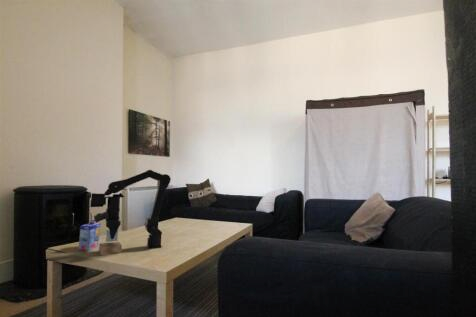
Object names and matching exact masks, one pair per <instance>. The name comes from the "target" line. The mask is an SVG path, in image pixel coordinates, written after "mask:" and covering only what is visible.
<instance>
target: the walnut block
mask: <svg viewBox="0 0 476 317" xmlns="http://www.w3.org/2000/svg"><path fill="white" fill-rule="evenodd" d="M98 247H99V248H98V252H99V255H100V256H107V255H116V254H122V249H123V248H122V243H121V242H120V241H112V242H101V243H100V242H99V245H98Z"/></svg>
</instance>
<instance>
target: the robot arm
mask: <svg viewBox="0 0 476 317" xmlns="http://www.w3.org/2000/svg"><path fill="white" fill-rule="evenodd" d="M149 178H150V179H152V180H155V181H156V182H157V183H156V185H157V186H156V187H157V189H156V190H157V191H156V194H155V197H154V200H153V204H152V209H151V213H150V215H149V217H146V218H145V222H144V224H143V225H144V228H145V231H147V233H148V236H147V239H146V240H147V241H146V247H147V248H148V249H156V248H158V249H159V248H162V247H163V246H162V235H163V231H161V230H160V229H159V217H160V216H159V215H160V211H161V209H162V208H161V207H162V204H163V201H164V197H165V192H166V190H167V189H168V187H169V185H170V183H171V182H172V181H171V176H170V175H169V174H166V173H165V174H162V173H160V172H157V171H154V170H153V169H148V170H145V171H144V172H141V173H138V174H136V175H135V174H134V175H133V176H130V177H127V178H125V179H120V180H116V181H112V182H110V183H109V184H108V187H107V189H106V190H105V191H104V193H95V192H93V193H91V198H90V207H89V208H103V207H104V206H106V205H107V206H106V209H105V211H103V212H99V213H96V214H95V215H93V218H94V219H93V220H95V222H94V223H100V222H101V221H104V220H105V227H106V228H108V230H110V236H111V239H114V236H115V234H116V232H117V230H118V231H119V228H120V226H121V225H122V224H121V220H120V211H121V208H120V207H121V206H120V203H121V198H125V196H124V195H123V193H122V192H121V191H123V190H124V189H126V188H127V187H129V186H131V185H133V184H137V183H139V182H141V181H143V180H147V179H149ZM110 195H111V196H110Z"/></svg>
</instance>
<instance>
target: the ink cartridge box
mask: <svg viewBox="0 0 476 317" xmlns="http://www.w3.org/2000/svg"><path fill="white" fill-rule="evenodd" d="M100 231H101V222H97V223H96V222H95V219H92V220H91V221H90V222H89V223H84V224H82V225H80V228H79V239H78V240H79V241H78V250H81V251H89V250H91V249H93V248H96V247H99V244H100V234H101V232H100Z"/></svg>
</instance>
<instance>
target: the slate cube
mask: <svg viewBox="0 0 476 317" xmlns="http://www.w3.org/2000/svg"><path fill="white" fill-rule="evenodd" d="M105 234H106V235H105V236H106V237H105V243H110V242H119V240H118V238H119V237H118V236H119V229H118V230H117V232H116V234H115V236H114V239H111V236H110V230H109V229H106V232H105Z"/></svg>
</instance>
